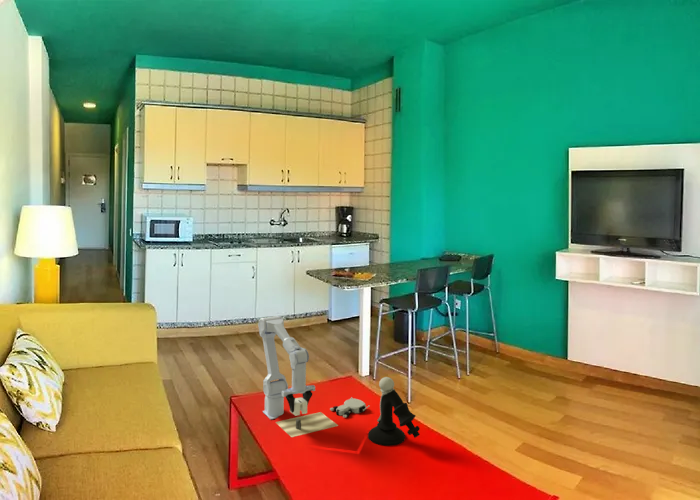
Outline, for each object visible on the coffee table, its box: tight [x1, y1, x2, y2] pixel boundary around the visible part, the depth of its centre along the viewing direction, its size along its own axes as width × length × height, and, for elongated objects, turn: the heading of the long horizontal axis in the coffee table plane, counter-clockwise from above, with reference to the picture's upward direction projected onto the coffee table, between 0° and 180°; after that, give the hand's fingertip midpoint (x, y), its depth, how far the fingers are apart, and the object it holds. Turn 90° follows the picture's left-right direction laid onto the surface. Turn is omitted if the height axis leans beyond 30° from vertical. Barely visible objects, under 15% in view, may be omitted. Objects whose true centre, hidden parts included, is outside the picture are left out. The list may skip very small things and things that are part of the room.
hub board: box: [275, 411, 339, 438], centre depth 223 cm, size 16×22×4 cm
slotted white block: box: [289, 396, 308, 417], centre depth 217 cm, size 5×5×5 cm
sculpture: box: [367, 376, 420, 447], centre depth 210 cm, size 15×24×25 cm, turn 46°
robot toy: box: [329, 396, 371, 418], centre depth 237 cm, size 12×4×15 cm
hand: (298, 410), depth 218 cm, fingers closed on slotted white block, 5 cm apart
